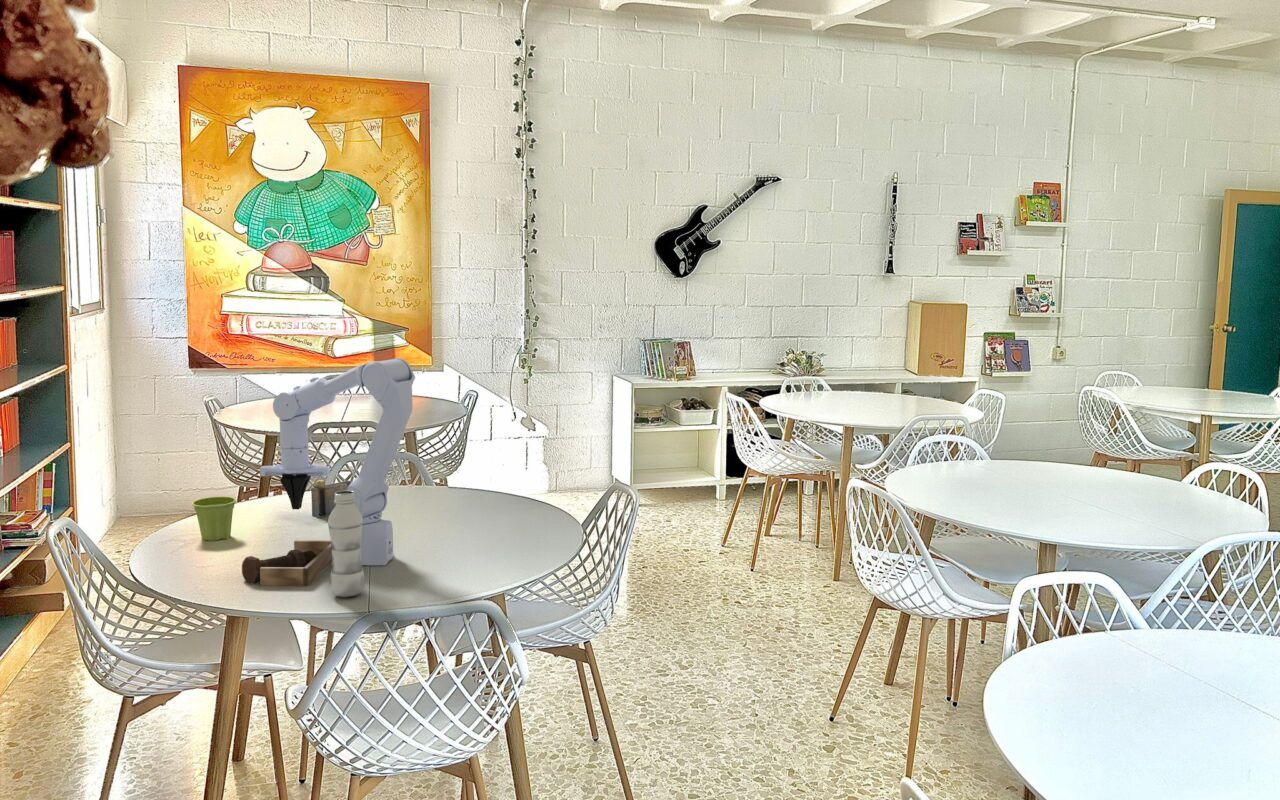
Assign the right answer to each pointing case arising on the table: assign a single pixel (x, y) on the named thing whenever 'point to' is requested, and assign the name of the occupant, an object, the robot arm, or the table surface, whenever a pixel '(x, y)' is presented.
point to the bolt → (274, 563)
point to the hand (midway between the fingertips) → (296, 508)
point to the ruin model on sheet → (326, 496)
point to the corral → (299, 574)
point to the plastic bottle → (346, 546)
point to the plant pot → (214, 516)
